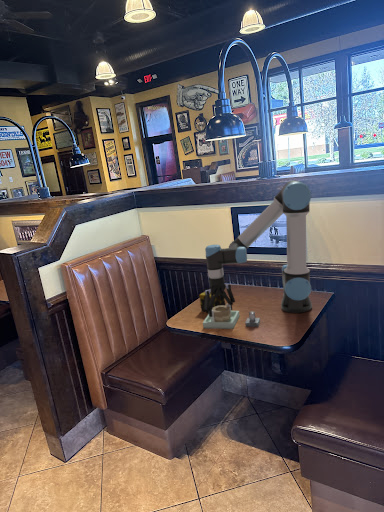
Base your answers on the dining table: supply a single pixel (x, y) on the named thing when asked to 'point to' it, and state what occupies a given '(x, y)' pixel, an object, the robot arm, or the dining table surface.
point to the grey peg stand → (252, 320)
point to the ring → (221, 313)
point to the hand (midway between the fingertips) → (221, 319)
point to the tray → (222, 325)
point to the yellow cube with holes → (218, 301)
